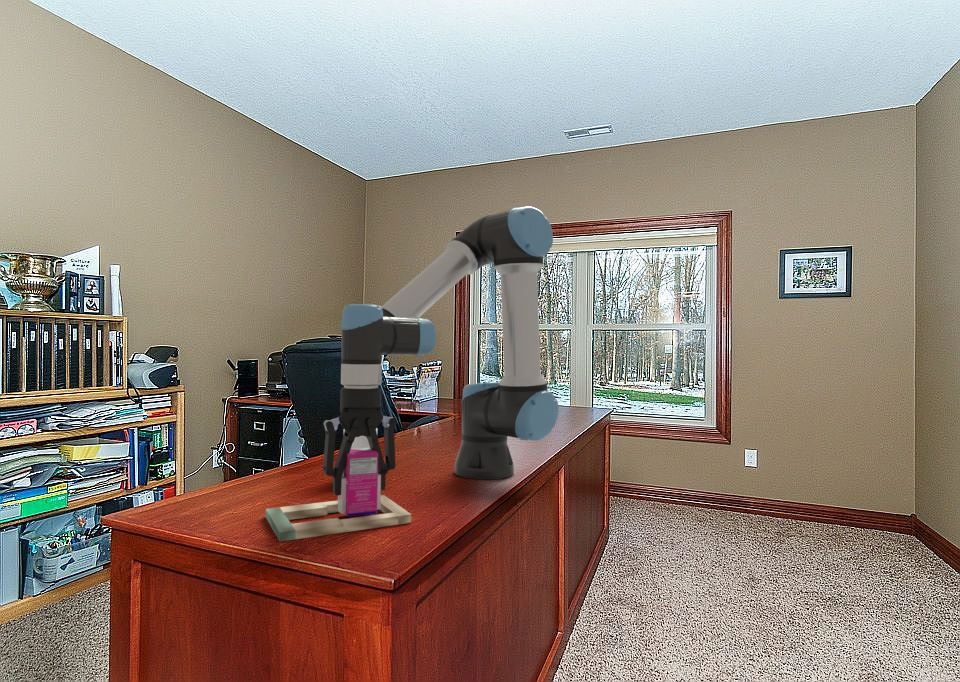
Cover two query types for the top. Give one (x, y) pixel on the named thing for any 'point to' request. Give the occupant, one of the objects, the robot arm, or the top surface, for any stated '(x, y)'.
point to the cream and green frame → (289, 531)
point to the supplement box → (361, 482)
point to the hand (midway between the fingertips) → (359, 509)
